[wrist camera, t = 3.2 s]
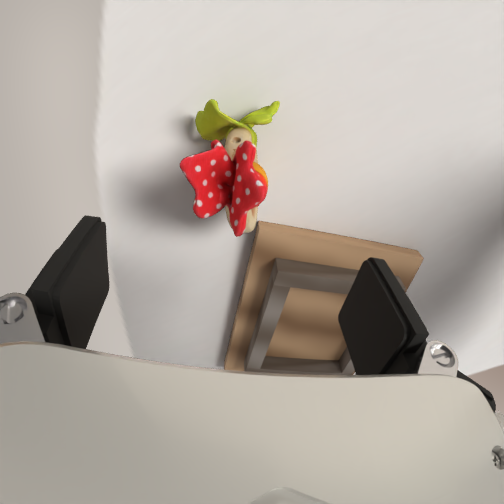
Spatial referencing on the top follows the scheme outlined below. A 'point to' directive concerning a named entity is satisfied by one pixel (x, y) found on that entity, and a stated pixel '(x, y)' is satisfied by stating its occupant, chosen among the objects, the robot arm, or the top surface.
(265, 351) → the wooden tray
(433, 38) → the top surface
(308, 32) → the top surface
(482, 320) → the top surface
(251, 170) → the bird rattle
